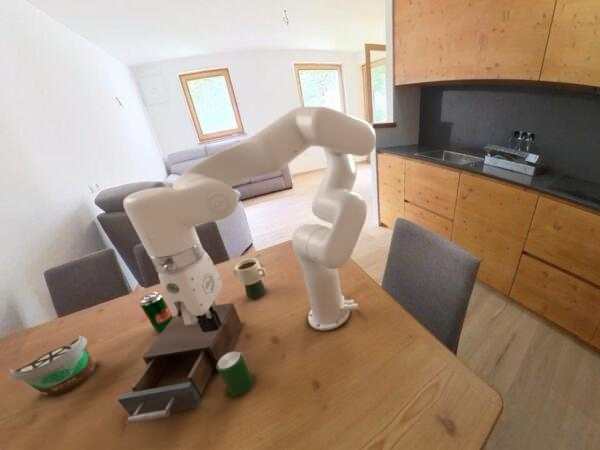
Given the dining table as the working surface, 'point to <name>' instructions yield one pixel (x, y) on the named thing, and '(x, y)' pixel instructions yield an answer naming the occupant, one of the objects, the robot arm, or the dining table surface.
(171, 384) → the drawer
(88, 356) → the food container
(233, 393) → the can
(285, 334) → the dining table surface
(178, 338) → the cabinet
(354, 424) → the dining table surface
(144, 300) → the soda can
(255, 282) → the character mug
